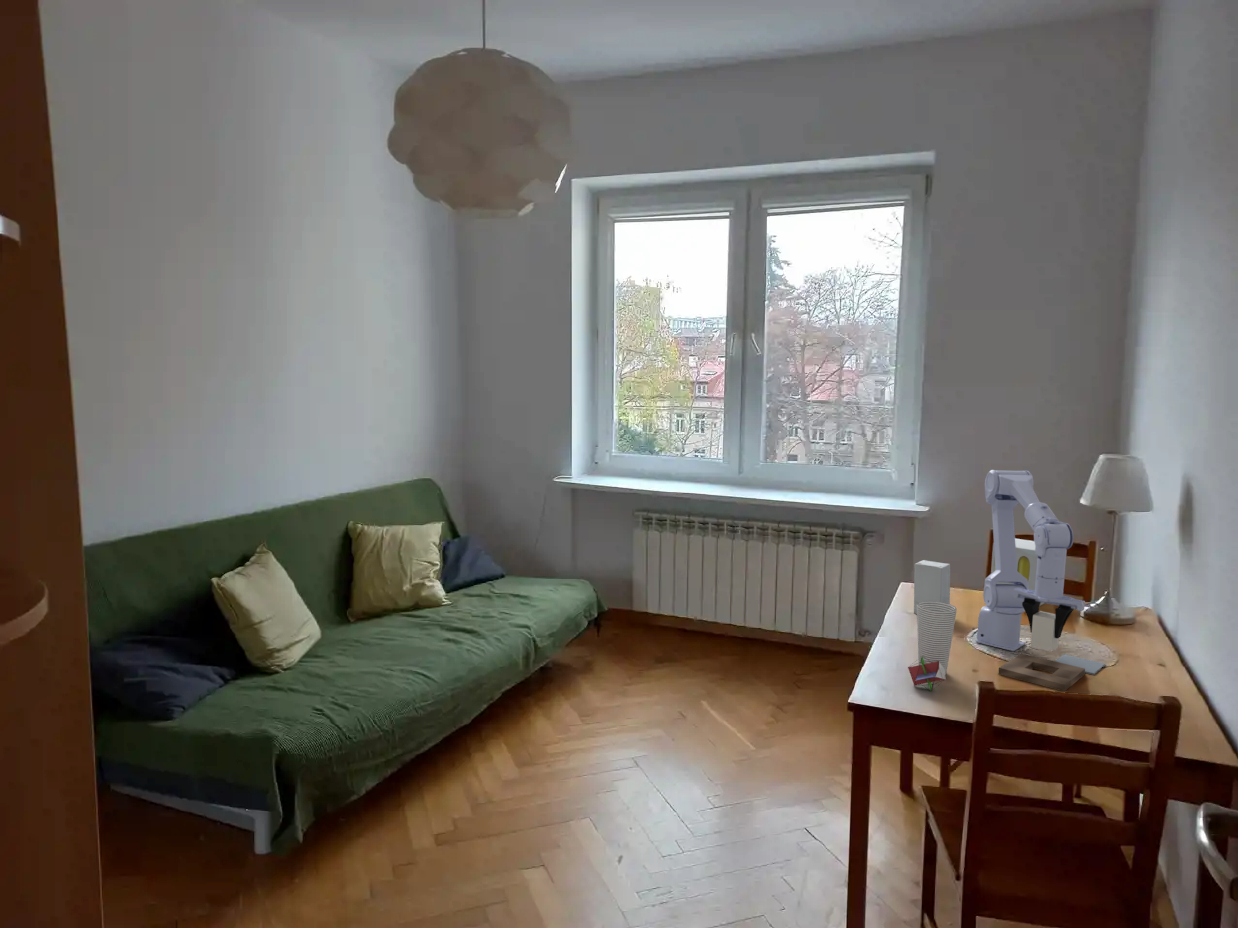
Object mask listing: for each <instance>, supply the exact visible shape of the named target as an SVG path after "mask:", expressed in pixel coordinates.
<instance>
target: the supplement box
mask: <svg viewBox="0 0 1238 928" xmlns="http://www.w3.org/2000/svg"><path fill="white" fill-rule="evenodd" d="M1015 545H1016V561H1017V571H1018V572H1019V573H1020V574H1021V575H1023V576H1024V577H1025V578H1026V579H1027V581H1028V586H1029V590H1035V582H1036V570H1037V557H1038V555H1036V552H1035V548H1036V547H1035V542H1034V540H1029V539H1022V538H1021V539H1020V538H1016V537H1015ZM991 555H992V556H991V570H990V575H991V574H992V573H993V572H994V571H995V570H996V568H995V552H994V542H993V543H992V554H991ZM996 584H1014V583H1010V582H998V583H996ZM1044 604H1045V603H1042V602H1040V606H1043V605H1044Z"/></svg>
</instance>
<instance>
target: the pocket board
mask: <svg viewBox="0 0 1238 928" xmlns="http://www.w3.org/2000/svg"><path fill="white" fill-rule="evenodd" d="M1033 669H1035V670H1033ZM1037 670H1039V671H1037ZM1041 671H1043V672H1041ZM997 673H998V675H1001V676H1004V677H1009V678H1013V679H1016V680H1020V681H1023V682H1028V683H1032V684H1034V685H1039V686H1042V687H1047V688H1050V689H1054V690H1057V691H1062V692H1066V691H1067V690H1069V688H1070V687H1072V686H1073V685H1074V684H1076V682H1078V681H1079V680H1080V679H1081V678H1083V677H1084V676H1085V674H1086V673H1085V668H1080V667H1076V666H1072V665H1068V664H1064V663H1060V662H1056V661H1055V660H1051V659H1047V658H1042V657H1039V656H1035V655H1031V654H1026V653H1024V652H1023V653H1022V652H1021V653H1019V654H1018V655H1016V656H1015V657H1013V658H1012V659H1010V660H1009V661H1007V662H1005V663H1003V664H1002V665H1000V666H999V667H998V672H997Z"/></svg>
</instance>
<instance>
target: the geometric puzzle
mask: <svg viewBox="0 0 1238 928" xmlns="http://www.w3.org/2000/svg"><path fill="white" fill-rule="evenodd" d="M924 658H925V656H924ZM927 658H928V657H927ZM930 659H931V658H930ZM927 660H928V659H927ZM933 660H934V659H933ZM916 661H918V659H916ZM916 661H915V662H916ZM928 661H929V660H928ZM929 662H931V663H928V664H925V662H924V660H923V657H922V658H921V661H920V662H919V663H921V664H922V665H918V664H917V665H916V663H913V665H912V664H910V665H909V666H907V669H908V671H909V674H910V678H911V681H912V683H913V687H917V686H920V685H921V686H923V687H925V686H924V685H926V684H927V685H928V687H929V689H928V691H929V692H930V693H932V691H933V690H935V688H936V687H934V689H933V686H934V685H936V684H937V683H938V684H939V683H940V684H941V683H942V682H944V681H945V680H947V678H946V674H945V669H944V668H943V666H942V665H941V663H940V662H939V661H938V662H936V661H929ZM932 662H933V663H932ZM934 682H935V683H934ZM940 684H939V685H940ZM925 688H926V689H924V690H926V691H927V687H925Z"/></svg>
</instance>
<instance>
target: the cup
mask: <svg viewBox="0 0 1238 928" xmlns="http://www.w3.org/2000/svg"><path fill="white" fill-rule="evenodd" d="M957 612H958V611H957V608H956V606H955V605H953V604H951V603H950V604H947V603H943V602H936V601H923V602H919V603H918V604H917V614H916V624H917V629H916V631H917V658H918V659H917V661H918V662H917V666H918V665H922V664H921V663H919V662H920V661H921V658H922V657H923V660H924V662H925V664H928V663H931V662H929V661H936V662H938V661H939V662H940V663H941V665H942V666H943V668H944V669H945V675H946V674H947V673H948V667H949V661H950V654H951V647H952V642H953V635H954V629H955V622H956V616H957ZM924 656H925V658H924ZM927 657H928V658H927ZM930 658H931V659H930ZM927 659H928V660H929V661H928V660H927ZM933 659H934V660H933ZM932 663H933V662H932Z"/></svg>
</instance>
